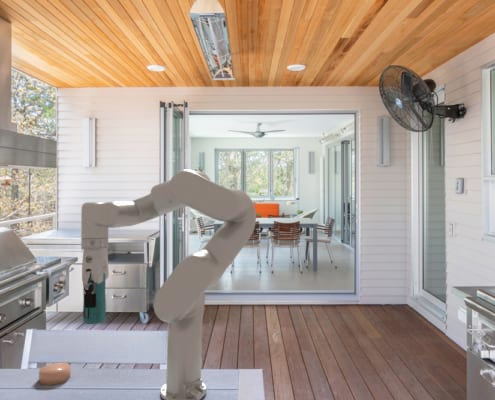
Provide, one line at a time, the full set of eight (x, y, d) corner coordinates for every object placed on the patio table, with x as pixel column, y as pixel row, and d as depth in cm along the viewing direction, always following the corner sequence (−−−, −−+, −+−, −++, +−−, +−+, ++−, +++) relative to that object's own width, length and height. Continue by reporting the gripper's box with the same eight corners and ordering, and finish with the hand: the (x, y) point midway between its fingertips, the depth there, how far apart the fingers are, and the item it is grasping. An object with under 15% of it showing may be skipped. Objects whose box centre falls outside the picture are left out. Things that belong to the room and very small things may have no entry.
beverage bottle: (109, 323, 122) (110, 257, 122) (99, 330, 115) (100, 260, 115) (89, 322, 122) (89, 257, 123) (78, 329, 116) (78, 260, 116)
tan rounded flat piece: (74, 379, 118) (74, 369, 118) (43, 388, 113) (43, 377, 113) (65, 370, 124) (65, 360, 124) (35, 377, 119) (35, 367, 119)
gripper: (97, 247, 110) (97, 312, 110) (116, 240, 128) (115, 297, 128) (70, 247, 110) (69, 312, 110) (92, 240, 127) (91, 297, 127)
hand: (94, 303), depth 119 cm, fingers closed on beverage bottle, 6 cm apart
